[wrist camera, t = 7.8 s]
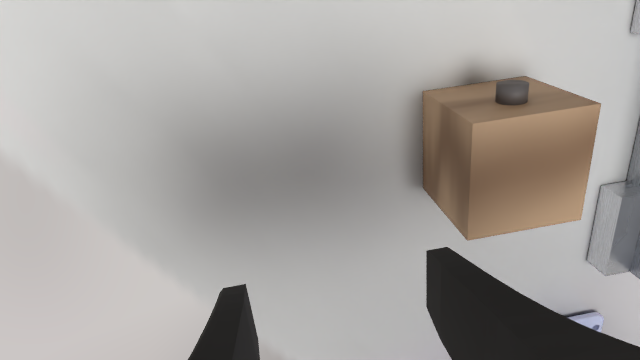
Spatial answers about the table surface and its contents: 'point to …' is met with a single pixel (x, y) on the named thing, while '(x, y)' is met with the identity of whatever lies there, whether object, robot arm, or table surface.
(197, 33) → the table surface
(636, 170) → the grey metal bar
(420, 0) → the table surface
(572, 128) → the cabinet
